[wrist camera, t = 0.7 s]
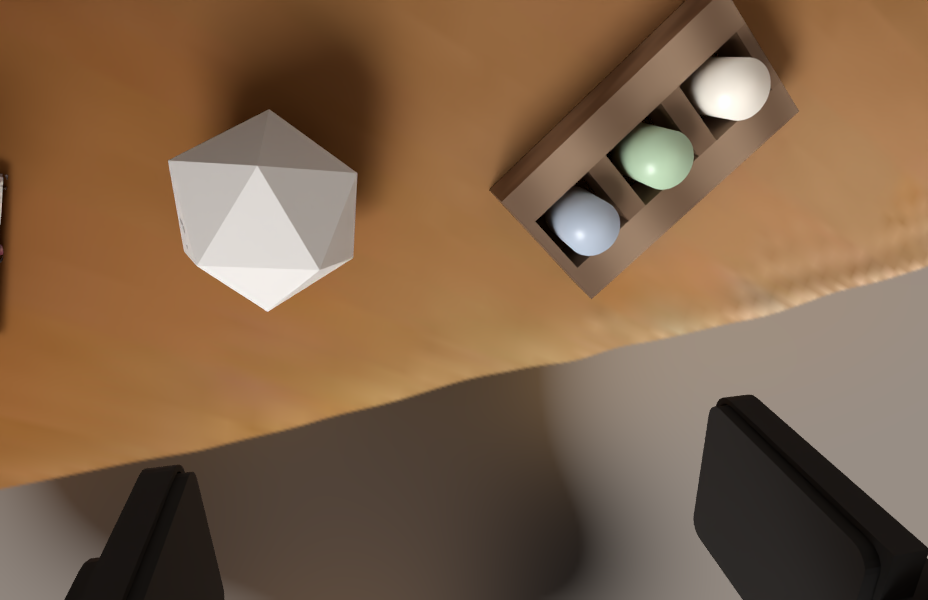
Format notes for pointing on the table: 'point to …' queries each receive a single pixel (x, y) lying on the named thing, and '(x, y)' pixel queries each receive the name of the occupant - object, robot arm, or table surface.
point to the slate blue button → (584, 221)
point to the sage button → (654, 156)
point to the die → (265, 209)
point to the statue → (0, 188)
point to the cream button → (728, 87)
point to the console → (618, 112)
